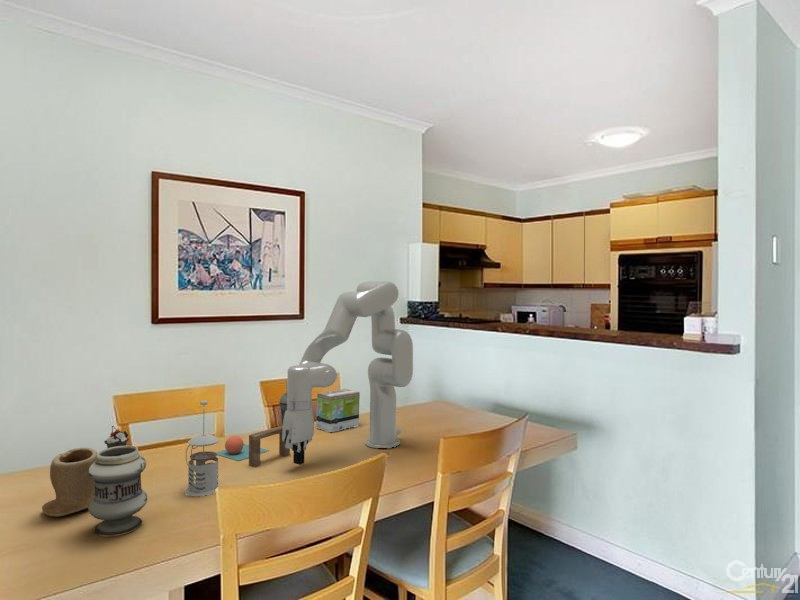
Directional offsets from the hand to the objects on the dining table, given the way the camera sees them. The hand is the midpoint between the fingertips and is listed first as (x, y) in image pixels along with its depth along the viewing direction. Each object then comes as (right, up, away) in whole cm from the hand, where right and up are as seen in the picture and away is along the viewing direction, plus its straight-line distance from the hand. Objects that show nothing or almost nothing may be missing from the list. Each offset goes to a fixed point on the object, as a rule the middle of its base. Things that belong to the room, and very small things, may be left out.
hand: (298, 463), depth 160 cm
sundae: (-53, -1, -7) cm, 54 cm away
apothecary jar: (-34, -2, -41) cm, 53 cm away
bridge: (-11, -1, +7) cm, 13 cm away
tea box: (+6, -1, +48) cm, 49 cm away
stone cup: (-49, -2, -31) cm, 58 cm away
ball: (-25, +2, +13) cm, 28 cm away
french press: (-24, -2, -18) cm, 30 cm away
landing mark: (-23, -1, +15) cm, 27 cm away
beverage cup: (-12, -1, +41) cm, 43 cm away
